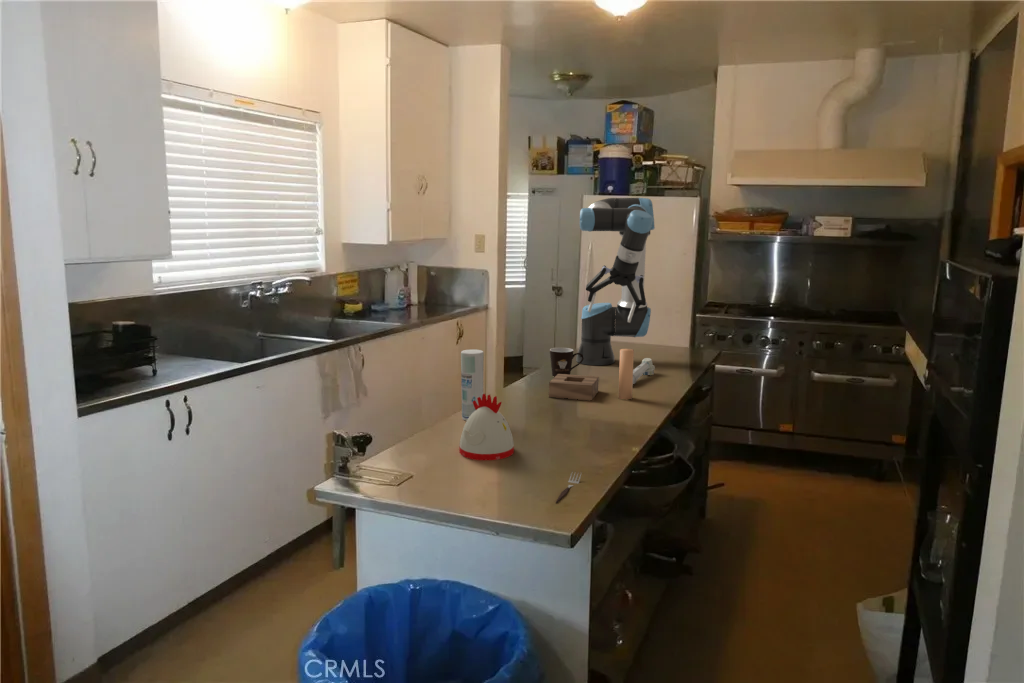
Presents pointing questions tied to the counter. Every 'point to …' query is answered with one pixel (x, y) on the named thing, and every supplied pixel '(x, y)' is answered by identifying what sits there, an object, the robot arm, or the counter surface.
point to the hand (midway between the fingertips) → (609, 315)
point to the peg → (626, 373)
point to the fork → (568, 486)
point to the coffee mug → (562, 360)
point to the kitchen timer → (486, 432)
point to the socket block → (573, 386)
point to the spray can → (471, 380)
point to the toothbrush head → (643, 369)
